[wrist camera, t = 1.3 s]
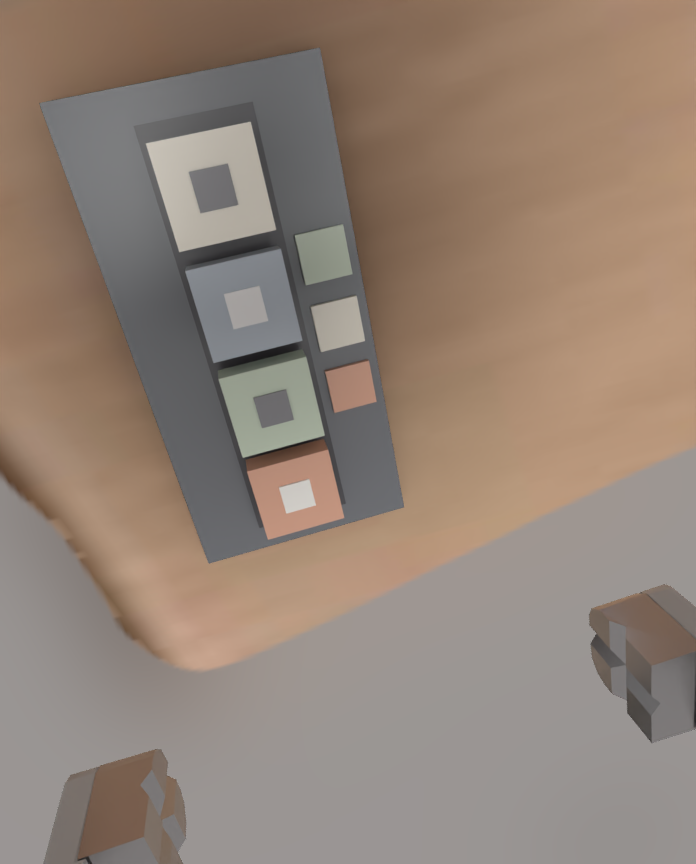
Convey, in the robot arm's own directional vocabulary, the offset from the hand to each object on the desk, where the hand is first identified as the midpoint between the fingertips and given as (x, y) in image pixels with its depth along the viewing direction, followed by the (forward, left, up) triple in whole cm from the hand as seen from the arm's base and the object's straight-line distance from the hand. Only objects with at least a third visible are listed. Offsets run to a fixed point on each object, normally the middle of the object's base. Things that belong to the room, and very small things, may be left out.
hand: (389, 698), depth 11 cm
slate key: (-4, -1, -21) cm, 21 cm away
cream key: (-9, -1, -21) cm, 22 cm away
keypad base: (-1, -1, -23) cm, 23 cm away
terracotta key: (+6, -1, -21) cm, 22 cm away
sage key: (+1, -1, -21) cm, 21 cm away
